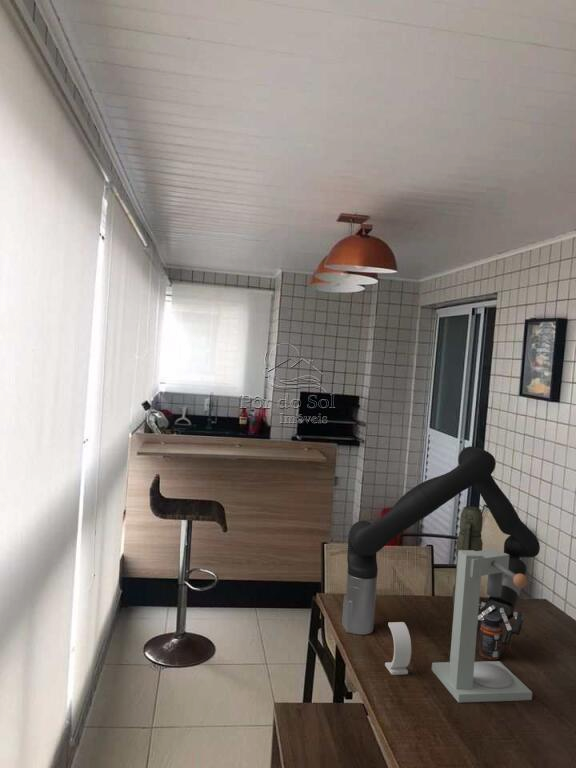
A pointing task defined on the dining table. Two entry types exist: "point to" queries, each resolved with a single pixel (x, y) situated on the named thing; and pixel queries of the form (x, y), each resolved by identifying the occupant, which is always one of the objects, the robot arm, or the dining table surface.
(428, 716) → the dining table surface
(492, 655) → the supplement bottle
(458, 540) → the thermos
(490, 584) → the press
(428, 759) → the dining table surface
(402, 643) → the headphone stand
